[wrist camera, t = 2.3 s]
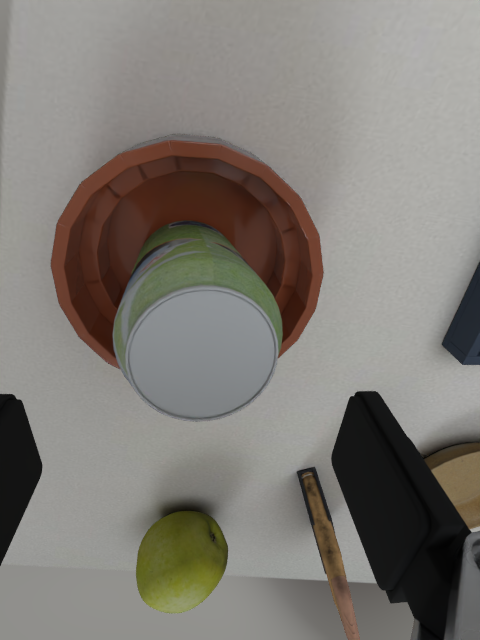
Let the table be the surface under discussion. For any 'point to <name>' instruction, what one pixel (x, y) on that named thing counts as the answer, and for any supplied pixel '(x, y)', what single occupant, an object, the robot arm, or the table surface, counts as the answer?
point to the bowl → (178, 205)
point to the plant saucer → (460, 478)
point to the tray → (466, 326)
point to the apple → (180, 561)
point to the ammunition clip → (328, 549)
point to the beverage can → (196, 325)
